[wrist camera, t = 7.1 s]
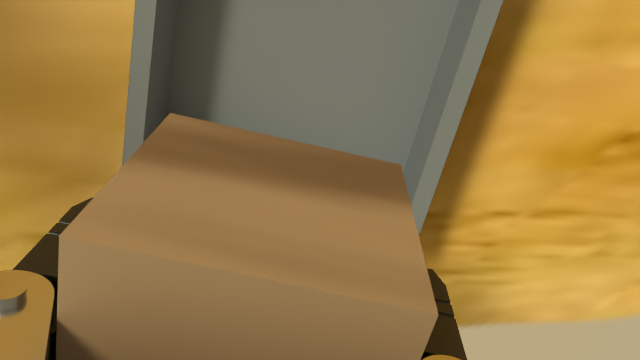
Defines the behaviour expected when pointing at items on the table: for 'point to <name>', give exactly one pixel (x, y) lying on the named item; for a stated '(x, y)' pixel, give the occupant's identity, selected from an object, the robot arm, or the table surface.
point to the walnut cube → (244, 255)
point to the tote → (315, 74)
